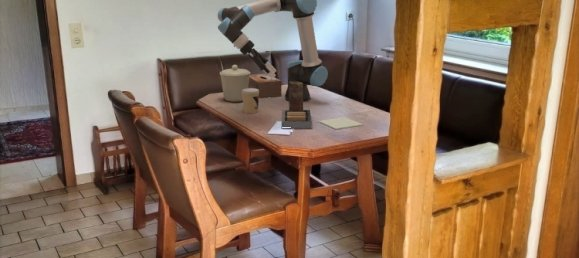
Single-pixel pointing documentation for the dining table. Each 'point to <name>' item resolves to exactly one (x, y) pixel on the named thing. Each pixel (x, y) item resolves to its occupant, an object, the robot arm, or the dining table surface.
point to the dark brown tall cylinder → (295, 96)
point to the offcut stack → (296, 116)
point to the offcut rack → (297, 124)
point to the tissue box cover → (265, 85)
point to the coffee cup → (250, 100)
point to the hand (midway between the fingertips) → (274, 74)
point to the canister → (234, 83)
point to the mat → (340, 123)
